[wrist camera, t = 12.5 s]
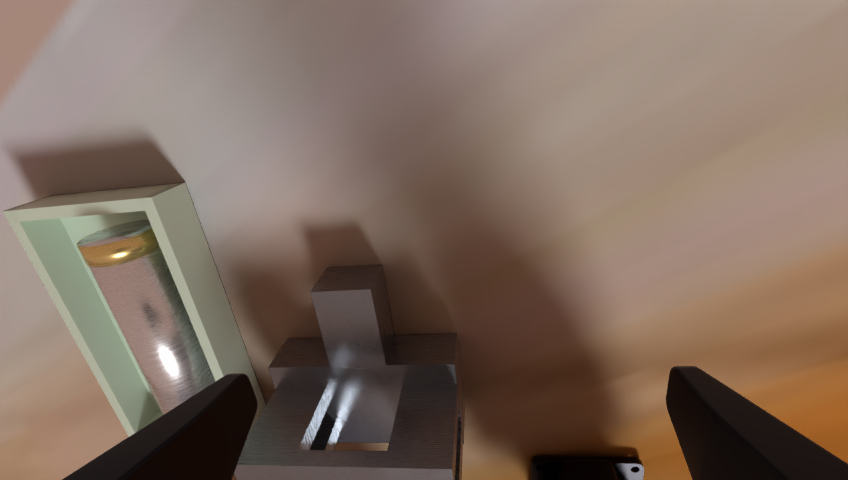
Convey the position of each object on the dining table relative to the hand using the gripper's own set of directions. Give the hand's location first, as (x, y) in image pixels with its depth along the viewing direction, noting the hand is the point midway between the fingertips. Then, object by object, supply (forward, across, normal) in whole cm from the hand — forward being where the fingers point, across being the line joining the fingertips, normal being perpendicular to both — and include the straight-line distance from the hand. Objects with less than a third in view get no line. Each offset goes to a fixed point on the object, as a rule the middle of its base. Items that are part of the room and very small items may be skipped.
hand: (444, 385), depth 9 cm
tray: (+12, +18, +6) cm, 22 cm away
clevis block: (+12, +6, +9) cm, 16 cm away
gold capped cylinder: (+10, +17, +5) cm, 20 cm away
